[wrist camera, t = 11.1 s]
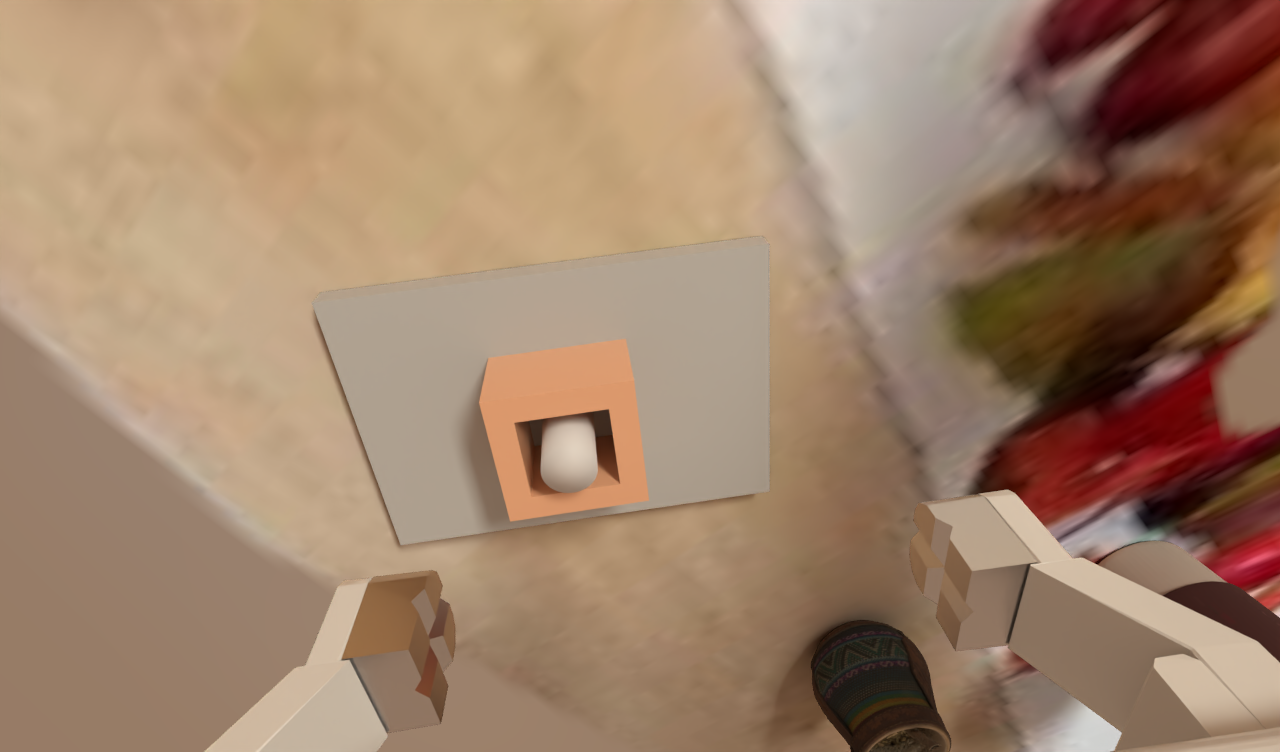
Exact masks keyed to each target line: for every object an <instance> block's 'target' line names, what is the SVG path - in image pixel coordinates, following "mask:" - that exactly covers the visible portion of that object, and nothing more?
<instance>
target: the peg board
mask: <svg viewBox="0 0 1280 752" xmlns="http://www.w3.org/2000/svg"><path fill="white" fill-rule="evenodd" d="M312 305H313V308H314V311H315V313H316V316H317V319H318V322H319V324H320V327H321V330H322V332H323V335H324V338H325V341H326V343H327V346H328V349H329V351H330V354H331V357H332V360H333V362H334V365H335V368H336V371H337V373H338V376H339V379H340V381H341V384H342V387H343V390H344V392H345V395H346V398H347V401H348V403H349V406H350V409H351V411H352V414H353V417H354V420H355V422H356V425H357V428H358V430H359V433H360V436H361V439H362V441H363V444H364V447H365V450H366V452H367V455H368V458H369V460H370V463H371V466H372V469H373V471H374V474H375V477H376V480H377V482H378V485H379V488H380V490H381V493H382V496H383V499H384V501H385V504H386V507H387V509H388V512H389V515H390V518H391V520H392V523H393V526H394V529H395V531H396V534H397V537H398V539H399V542H400V545H406V544H413V543H420V542H427V541H433V540H440V539H447V538H454V537H461V536H468V535H475V534H481V533H488V532H495V531H502V530H509V529H516V528H523V527H529V526H536V525H543V524H550V523H557V522H564V521H571V520H577V519H584V518H591V517H598V516H605V515H612V514H619V513H625V512H632V511H639V510H646V509H653V508H660V507H667V506H674V505H680V504H687V503H694V502H701V501H708V500H715V499H722V498H728V497H735V496H742V495H749V494H756V493H763V492H770V322H769V243H768V242H767V241H766V240H765V238H764V237H763V236H757V237H749V238H741V239H734V240H726V241H718V242H710V243H702V244H695V245H687V246H679V247H671V248H663V249H656V250H648V251H640V252H632V253H624V254H617V255H609V256H601V257H593V258H585V259H578V260H570V261H562V262H554V263H546V264H539V265H531V266H523V267H515V268H507V269H500V270H492V271H484V272H476V273H468V274H461V275H453V276H445V277H437V278H429V279H422V280H414V281H406V282H398V283H390V284H383V285H375V286H367V287H359V288H351V289H344V290H336V291H328V292H320V294H319V295H318V296H317V297H316V298H315V299H314V301H313V302H312ZM620 339H626V342H627V347H628V352H629V357H630V362H631V367H632V372H633V377H634V383H635V391H636V399H637V407H638V415H639V423H640V431H641V439H642V447H643V455H644V463H645V471H646V479H647V487H648V495H649V501H644V502H637V503H630V504H624V505H617V506H610V507H604V508H597V509H591V510H584V511H577V512H571V513H564V514H557V515H551V516H544V517H538V518H531V519H524V520H518V521H511V522H510V519H509V515H508V511H507V507H506V504H505V500H504V496H503V492H502V488H501V485H500V481H499V477H498V473H497V469H496V465H495V462H494V458H493V454H492V450H491V446H490V443H489V439H488V435H487V431H486V427H485V424H484V420H483V416H482V412H481V408H480V404H479V400H480V396H481V391H482V386H483V381H484V376H485V371H486V366H487V361H488V358H492V357H499V356H506V355H513V354H520V353H527V352H534V351H541V350H548V349H556V348H563V347H570V346H577V345H584V344H591V343H598V342H605V341H612V340H620ZM529 423H530V428H531V432H532V437H533V441H534V446H539V445H542V449H541V476H542V479H543V481H544V482H545V483H546V484H547V485H548V486H549V487H550V488H552V489H553V490H555V491H558V492H562V493H574V492H579V491H581V490H584V489H585V488H587V487H589V486H590V485H591V484H592V483H593V482H594V480H595V478H596V476H597V473H598V465H597V453H596V441H595V437H600V436H607V435H613V433H612V426H611V419H610V413H609V409H606V410H599V411H593V412H586V413H579V414H572V415H565V416H558V417H551V418H544V419H537V420H530V421H529Z"/></svg>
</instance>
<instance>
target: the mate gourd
mask: <svg viewBox="0 0 1280 752" xmlns="http://www.w3.org/2000/svg"><path fill="white" fill-rule="evenodd" d="M811 670H812V684H813V691H814V695H815V698H816V700H817V702H818V704H819V706H820V707H821V709H822V711H823V712H824V714H825V715H826V716H827V718H828V720H829V721H830V722H831V723H832V724H833V725H834V727H835V728H836V729H837V730H838V732H839V733H840V734H841V735H842V737H843V738H844V739H845V740H846V741H847V743H848V744H849V745H850V749H851V752H949V751H950V748H951V738H950V735H949V733H948V732H947V730H946V728H945V725H944V723H943V721H942V718H941V717H940V715H939V714H938V712H937V708H936V704H935V700H934V695H933V691H932V686H931V679H930V673H929V670H928V667H927V664H926V661H925V659H924V657H923V656H922V654H921V653H920V651H919V650H918V648H917V647H916V646H915V644H914V643H913V642H912V641H911V640H910V639H908V637H906V636H905V635H904V634H903V633H902V632H901V631H899V630H897V629H895V628H893V627H891V626H889V625H887V624H883V623H879V622H874V621H866V620H860V621H853V622H849V623H846V624H843V625H841V626H839V627H837V628H836V629H834V630H833V631H832V632H830V633H829V634H828V635H827V636H826V637H825V638H824V639H823V640H822V642H821V643H820V645H819V646H818V648H817V650H816V652H815V654H814V657H813V659H812V662H811Z"/></svg>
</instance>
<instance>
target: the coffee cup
mask: <svg viewBox="0 0 1280 752" xmlns="http://www.w3.org/2000/svg"><path fill="white" fill-rule="evenodd" d="M1098 565H1099V566H1101V567H1103V568H1105V569H1107V570H1109V571H1111V572H1113V573H1115V574H1118V575H1120V576H1122V577H1124V578H1126V579H1128V580H1130V581H1132V582H1134V583H1136V584H1138V585H1141V586H1143V587H1145V588H1147V589H1149V590H1151V591H1153V592H1155V593H1157V594H1159V595H1161V596H1164V597H1166V598H1168V599H1170V600H1172V601H1174V602H1176V603H1178V604H1180V605H1182V606H1185V607H1187V608H1189V609H1191V610H1193V611H1195V612H1197V613H1199V614H1201V615H1203V616H1205V617H1208V618H1210V619H1212V620H1214V621H1216V622H1218V623H1220V624H1222V625H1224V626H1226V627H1228V628H1231V629H1233V630H1235V631H1237V632H1239V633H1241V634H1243V635H1245V636H1247V637H1249V638H1251V639H1254V640H1256V641H1258V642H1259V643H1260V644H1261V645H1262V646H1263V647H1264V648H1265V649H1266V650H1267V651H1268V652H1269V653H1270V654H1271V655H1272V656H1273V657H1274V658H1275V659H1276V660H1278V661H1279V662H1280V618H1279V617H1278V616H1277V615H1275V614H1274V613H1273V612H1271V611H1270V610H1269V609H1267V608H1266V607H1265V606H1263V605H1262V604H1261V603H1259V602H1258V601H1257V600H1255V599H1254V598H1253V597H1251V596H1250V595H1249V594H1247V593H1246V592H1245V591H1243V590H1242V589H1240V588H1239V587H1237V586H1235V585H1233V584H1230V583H1227V582H1225V581H1224V580H1223V579H1221V578H1220V577H1219V576H1217V575H1216V574H1215V573H1214V572H1212V571H1211V570H1210V569H1208V568H1207V567H1206V566H1204V565H1203V564H1202V563H1200V562H1199V561H1198V560H1196V559H1195V558H1194V557H1193V556H1191V555H1190V554H1189V553H1187V552H1186V551H1185V550H1183V549H1182V548H1180V547H1179V546H1176V545H1174V544H1172V543H1169V542H1164V541H1145V542H1140V543H1135V544H1132V545H1129V546H1127V547H1124V548H1122V549H1120V550H1118V551H1116V552H1114V553H1112V554H1110V555H1109V556H1108V557H1106V558H1105V559H1103V560H1102V561H1101V562H1100V563H1099V564H1098Z"/></svg>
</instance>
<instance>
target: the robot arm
mask: <svg viewBox="0 0 1280 752" xmlns="http://www.w3.org/2000/svg"><path fill="white" fill-rule="evenodd" d="M913 521H914V522H915V524H916V526H917V527H918V529H919V530H920V531H919V532H918V533H917V534H916V535H915V536H914V537H913V538H912V539H911V541H910V553H909V556H910V562H911V568H912V572H913V575H914V578H915V580H916V583H917V585H918V587H919V588H920V590H921V592H922V594H923V596H925V597H927V598H928V599H930V600H932V601H933V602H935V603H936V604H938V607H937V613H936V618H937V620H938V622H939V624H940V625H941V627H942V629H943V630H944V632H945V634H946V636H947V637H948V639H949V641H950V642H951V644H952V646H953V648H954V649H955V651H962V650H971V649H979V648H988V647H997V646H1006V645H1009V646H1008V648H1009V649H1010V650H1012V651H1013V652H1014V653H1016V654H1017V655H1018V656H1020V657H1021V658H1022V659H1024V660H1025V661H1026V662H1028V663H1029V664H1030V665H1032V666H1033V667H1034V668H1036V669H1037V670H1038V671H1040V672H1041V673H1042V674H1044V675H1045V676H1046V677H1048V678H1049V679H1051V680H1052V681H1053V682H1055V683H1056V684H1057V685H1059V686H1060V687H1061V688H1063V689H1064V690H1065V691H1067V692H1068V693H1069V694H1071V695H1072V696H1073V697H1075V698H1076V699H1077V700H1079V701H1080V702H1081V703H1083V704H1084V705H1086V706H1087V707H1088V708H1090V709H1091V710H1092V711H1094V712H1095V713H1096V714H1098V715H1099V716H1100V717H1102V718H1103V719H1104V720H1106V721H1107V722H1108V723H1110V724H1111V725H1112V726H1114V727H1115V728H1116V729H1118V730H1119V731H1121V732H1122V734H1121V737H1120V739H1119V741H1118V743H1117V746H1116V748H1115V750H1114V751H1112V752H1280V662H1279V661H1278V660H1276V659H1275V658H1274V657H1273V656H1272V655H1271V654H1270V653H1269V652H1268V651H1267V650H1266V649H1265V648H1264V647H1263V646H1262V645H1261V644H1260V643H1259V642H1258V641H1256V640H1254V639H1251V638H1249V637H1247V636H1245V635H1243V634H1241V633H1239V632H1237V631H1235V630H1233V629H1231V628H1228V627H1226V626H1224V625H1222V624H1220V623H1218V622H1216V621H1214V620H1212V619H1210V618H1208V617H1205V616H1203V615H1201V614H1199V613H1197V612H1195V611H1193V610H1191V609H1189V608H1187V607H1185V606H1182V605H1180V604H1178V603H1176V602H1174V601H1172V600H1170V599H1168V598H1166V597H1164V596H1161V595H1159V594H1157V593H1155V592H1153V591H1151V590H1149V589H1147V588H1145V587H1143V586H1141V585H1138V584H1136V583H1134V582H1132V581H1130V580H1128V579H1126V578H1124V577H1122V576H1120V575H1118V574H1115V573H1113V572H1111V571H1109V570H1107V569H1105V568H1103V567H1101V566H1099V565H1097V564H1095V563H1092V562H1090V561H1088V560H1086V559H1084V558H1074V559H1073V558H1072V557H1071V556H1070V555H1069V554H1068V552H1067V551H1066V550H1065V549H1064V548H1063V547H1062V546H1061V545H1060V543H1059V542H1058V541H1057V540H1056V539H1055V538H1054V537H1053V535H1052V534H1051V533H1050V532H1049V531H1048V530H1047V529H1046V528H1045V526H1044V525H1043V524H1042V523H1041V522H1040V521H1039V520H1038V519H1037V517H1036V516H1035V515H1034V514H1033V513H1032V512H1031V511H1030V510H1029V508H1028V507H1027V506H1026V505H1025V504H1024V503H1023V502H1022V501H1021V499H1020V498H1019V497H1018V496H1017V495H1016V494H1015V493H1014V492H1012V491H1010V490H1001V491H994V492H988V493H981V494H977V495H968V496H962V497H955V498H948V499H941V500H934V501H928V502H921V503H919V504H918V505H917V507H916V508H915V513H914V519H913ZM442 587H443V585H442V583H441V580H440V578H439V575H438V573H437V572H436V571H433V570H429V571H420V572H412V573H403V574H394V575H385V576H376V577H373V578H364V579H355V580H346V581H343V582H342V583H341V584H340V585H339V586H338V587H337V589H336V591H335V593H334V596H333V598H332V601H331V603H330V605H329V608H328V610H327V613H326V615H325V618H324V620H323V623H322V625H321V627H320V630H319V632H318V635H317V637H316V640H315V642H314V645H313V647H312V650H311V652H310V655H309V657H308V659H307V662H306V664H305V666H301V667H296V668H294V669H293V670H292V671H291V672H290V673H289V674H288V675H287V676H286V677H285V678H283V679H282V680H281V681H280V682H279V683H278V684H277V685H276V686H275V687H274V688H273V689H272V690H271V691H269V692H268V693H267V694H266V695H265V696H264V697H263V698H262V699H261V700H260V701H259V702H258V703H257V704H255V705H254V706H253V707H252V708H251V709H250V710H249V711H248V712H247V713H246V714H245V715H244V716H242V717H241V718H240V719H239V720H238V721H237V722H236V723H235V724H234V725H233V726H231V728H229V729H228V730H227V731H226V732H225V733H224V734H223V735H222V736H221V737H220V738H218V740H216V741H215V742H214V743H213V744H212V745H211V746H210V747H209V748H208V749H207V750H206V751H204V752H377V751H378V749H379V748H380V747H381V745H382V744H383V742H384V741H385V740H386V738H387V737H388V735H387V733H391V732H397V731H403V730H409V729H414V728H420V727H426V726H432V725H438V724H441V720H442V716H443V710H444V705H445V700H446V695H447V690H448V684H447V681H446V679H445V676H444V674H443V672H444V671H445V670H446V669H447V667H448V666H449V665H450V664H451V663H452V662H453V657H454V651H455V622H454V616H453V613H452V610H451V607H450V604H449V603H447V602H446V601H444V600H442V599H441V598H440V596H441V591H442Z"/></svg>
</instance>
